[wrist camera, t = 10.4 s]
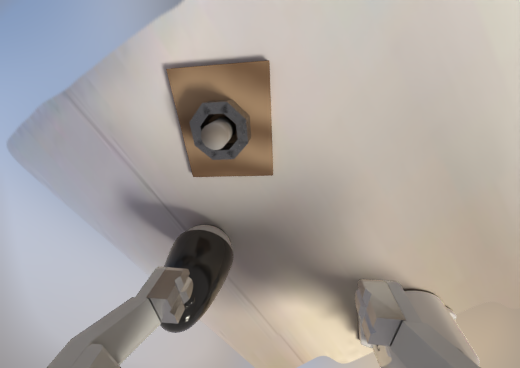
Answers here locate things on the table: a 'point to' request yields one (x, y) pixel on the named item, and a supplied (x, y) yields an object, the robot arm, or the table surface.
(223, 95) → the piston stand
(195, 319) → the black rounded piece
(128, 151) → the table surface
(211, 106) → the ring
